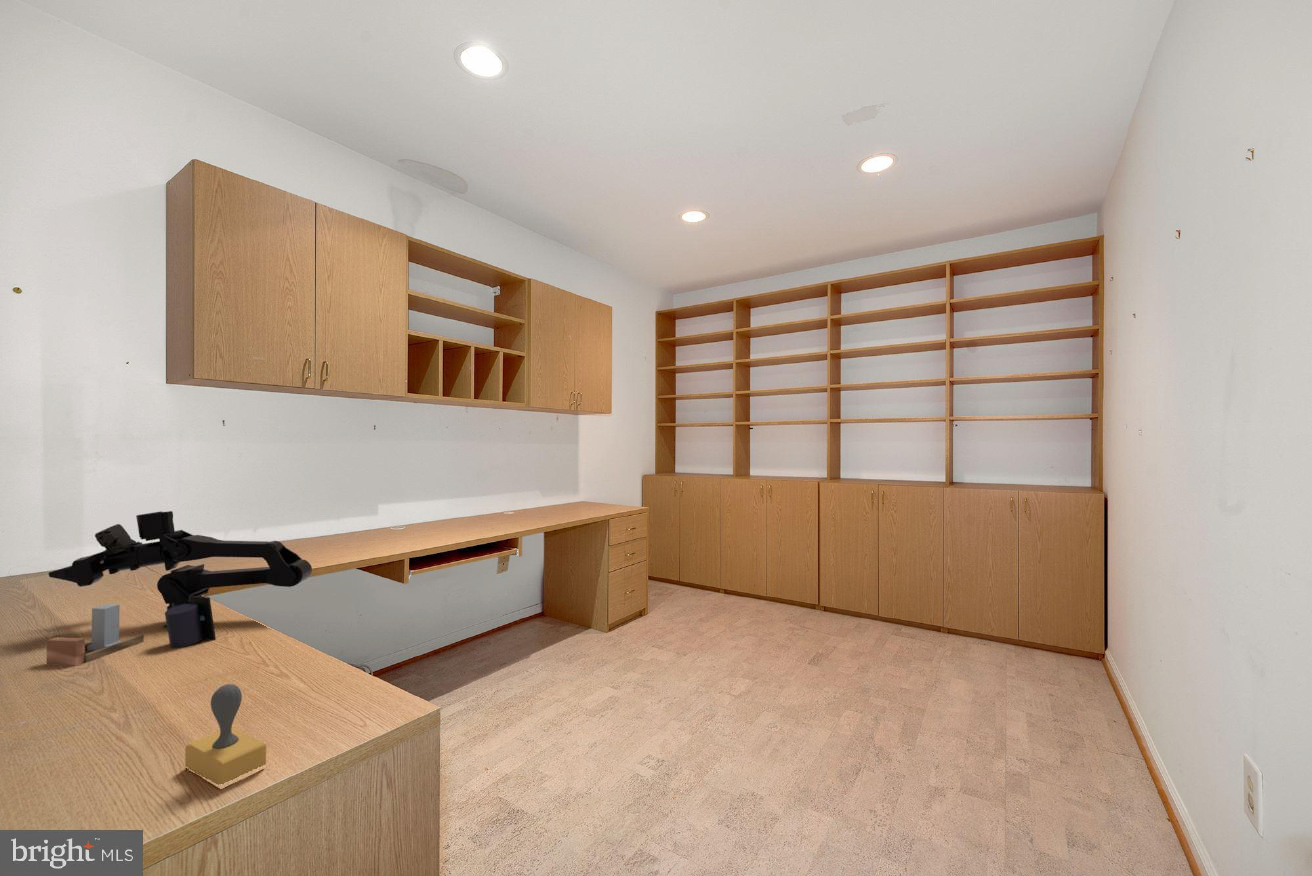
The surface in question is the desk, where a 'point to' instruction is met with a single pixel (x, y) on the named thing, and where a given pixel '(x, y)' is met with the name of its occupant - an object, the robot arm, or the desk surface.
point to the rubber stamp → (225, 743)
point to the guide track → (81, 650)
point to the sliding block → (104, 626)
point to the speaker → (190, 622)
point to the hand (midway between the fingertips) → (63, 568)
